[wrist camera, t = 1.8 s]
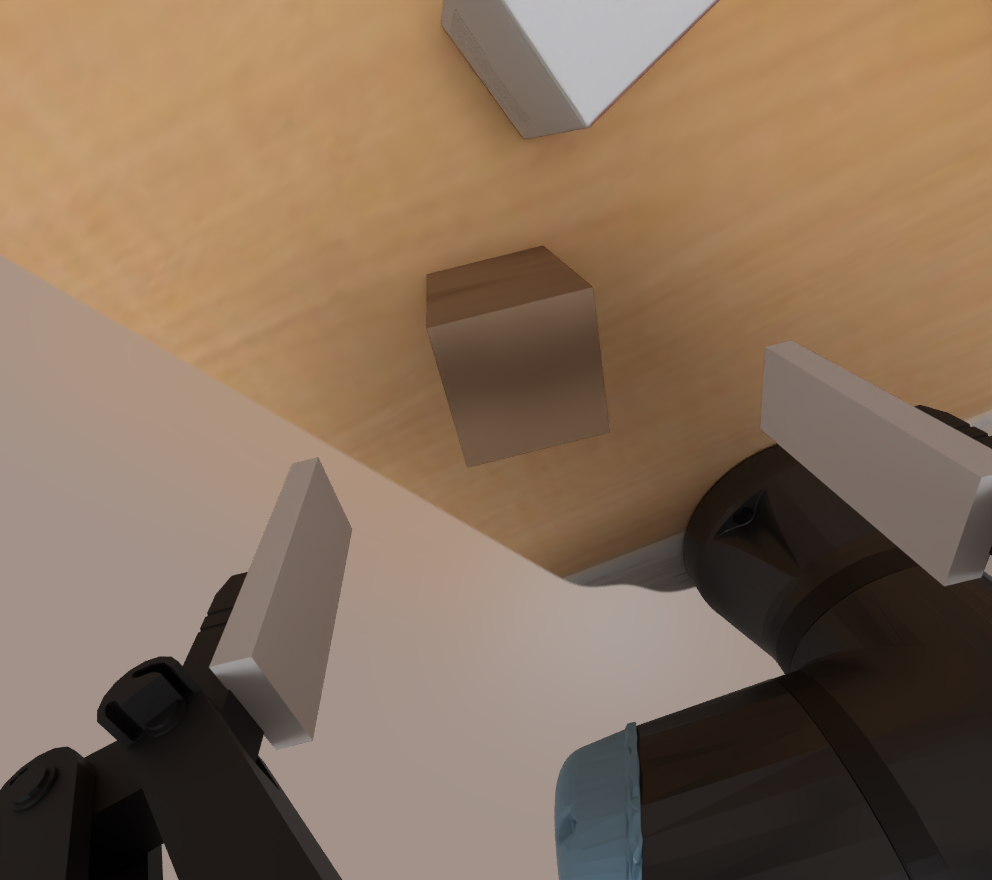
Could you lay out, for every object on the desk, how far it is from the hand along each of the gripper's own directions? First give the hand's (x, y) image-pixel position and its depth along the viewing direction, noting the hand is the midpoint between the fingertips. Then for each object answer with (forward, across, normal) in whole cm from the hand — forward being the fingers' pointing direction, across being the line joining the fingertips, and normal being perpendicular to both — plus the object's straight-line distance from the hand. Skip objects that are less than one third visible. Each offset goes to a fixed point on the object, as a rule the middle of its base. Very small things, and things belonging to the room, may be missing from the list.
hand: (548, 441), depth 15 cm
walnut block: (+14, 0, 0) cm, 14 cm away
